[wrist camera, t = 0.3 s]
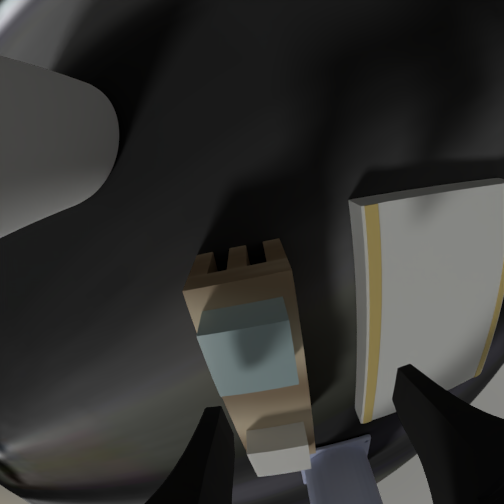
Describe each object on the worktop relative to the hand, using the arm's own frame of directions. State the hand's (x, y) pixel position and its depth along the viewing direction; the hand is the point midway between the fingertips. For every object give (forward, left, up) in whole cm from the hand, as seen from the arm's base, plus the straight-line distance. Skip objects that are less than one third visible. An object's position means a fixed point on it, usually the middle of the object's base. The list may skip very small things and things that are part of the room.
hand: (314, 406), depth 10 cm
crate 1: (+1, +2, -4) cm, 5 cm away
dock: (-4, -12, -9) cm, 15 cm away
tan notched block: (-4, +2, -9) cm, 10 cm away
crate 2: (-9, +2, -4) cm, 10 cm away
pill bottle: (+13, +11, -9) cm, 20 cm away
